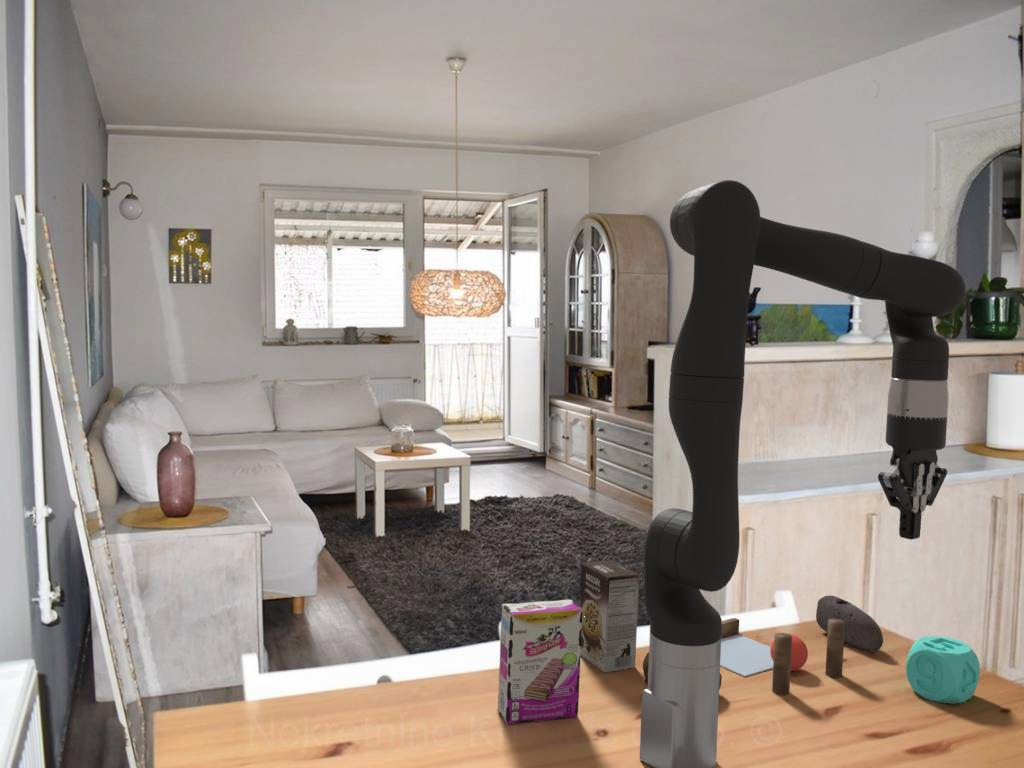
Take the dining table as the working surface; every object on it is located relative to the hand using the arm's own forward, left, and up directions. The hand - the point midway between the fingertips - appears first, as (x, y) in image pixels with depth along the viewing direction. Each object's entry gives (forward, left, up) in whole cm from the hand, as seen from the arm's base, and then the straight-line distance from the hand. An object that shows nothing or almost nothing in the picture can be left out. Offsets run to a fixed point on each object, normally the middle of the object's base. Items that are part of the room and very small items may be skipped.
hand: (909, 537), depth 128 cm
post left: (-1, +20, -29) cm, 35 cm away
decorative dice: (+21, +6, -29) cm, 37 cm away
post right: (+13, +20, -29) cm, 37 cm away
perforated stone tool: (+28, +28, -29) cm, 49 cm away
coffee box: (-16, +44, -29) cm, 55 cm away
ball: (+8, +25, -26) cm, 37 cm away
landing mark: (+6, +34, -29) cm, 45 cm away
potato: (-16, +26, -29) cm, 42 cm away
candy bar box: (-38, +33, -29) cm, 58 cm away
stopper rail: (+6, +43, -29) cm, 52 cm away
